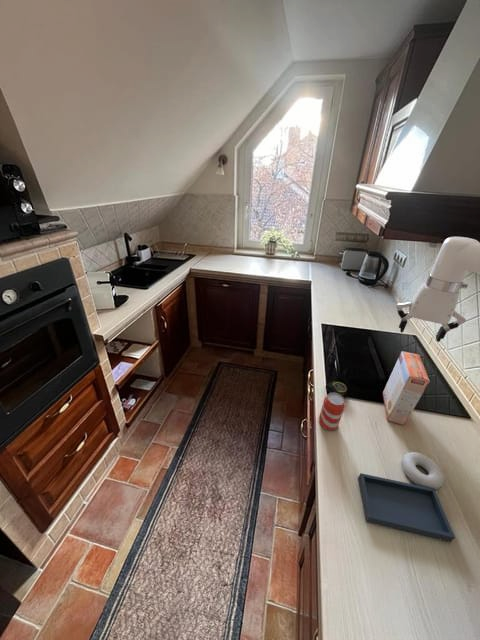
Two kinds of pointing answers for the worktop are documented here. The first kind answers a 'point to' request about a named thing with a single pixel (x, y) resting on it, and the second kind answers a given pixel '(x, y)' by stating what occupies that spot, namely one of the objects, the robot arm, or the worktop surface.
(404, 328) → the robot arm
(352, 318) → the worktop surface
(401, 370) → the cracker box
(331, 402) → the beverage can
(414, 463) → the donut
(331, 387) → the tape measure
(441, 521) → the tray
